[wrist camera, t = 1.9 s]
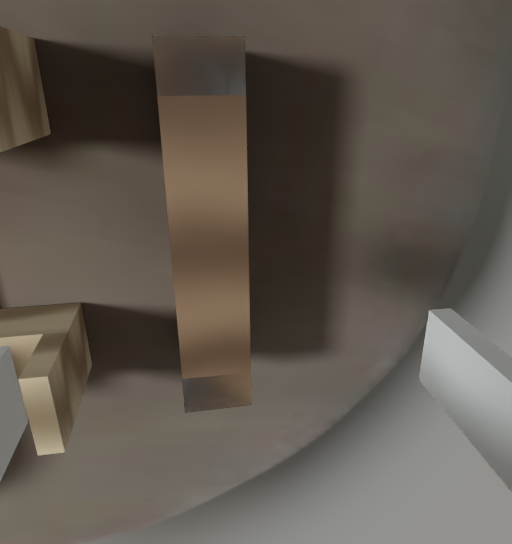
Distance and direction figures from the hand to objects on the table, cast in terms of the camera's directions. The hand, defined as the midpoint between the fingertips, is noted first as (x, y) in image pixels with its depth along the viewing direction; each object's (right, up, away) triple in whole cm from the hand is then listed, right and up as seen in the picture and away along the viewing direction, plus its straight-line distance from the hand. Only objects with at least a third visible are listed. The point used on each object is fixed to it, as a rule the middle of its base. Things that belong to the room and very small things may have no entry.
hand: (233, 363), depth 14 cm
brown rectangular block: (-3, +6, +15) cm, 17 cm away
